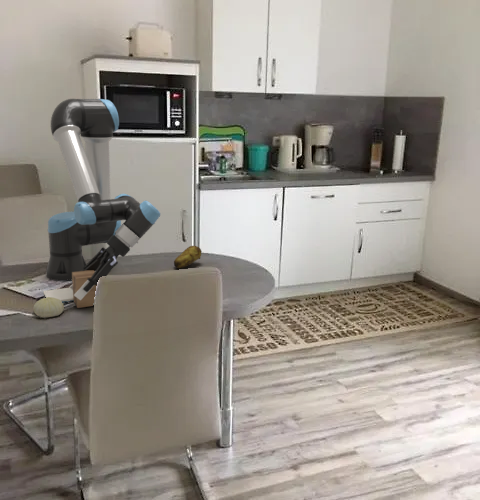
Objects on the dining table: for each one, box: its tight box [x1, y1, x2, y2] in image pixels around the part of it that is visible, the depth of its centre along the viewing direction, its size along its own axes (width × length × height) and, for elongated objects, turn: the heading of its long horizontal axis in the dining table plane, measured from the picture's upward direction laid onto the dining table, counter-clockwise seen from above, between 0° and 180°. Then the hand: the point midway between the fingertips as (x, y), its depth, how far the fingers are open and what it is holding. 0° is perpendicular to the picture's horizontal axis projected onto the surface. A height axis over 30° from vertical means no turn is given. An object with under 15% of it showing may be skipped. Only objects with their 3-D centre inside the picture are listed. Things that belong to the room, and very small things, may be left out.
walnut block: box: [71, 270, 97, 309], centre depth 185 cm, size 7×7×10 cm
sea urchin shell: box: [32, 297, 65, 318], centre depth 177 cm, size 9×8×8 cm
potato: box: [173, 245, 202, 269], centre depth 227 cm, size 8×13×8 cm, turn 120°
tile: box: [43, 287, 73, 301], centre depth 191 cm, size 11×11×1 cm
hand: (74, 293), depth 184 cm, fingers closed on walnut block, 7 cm apart
